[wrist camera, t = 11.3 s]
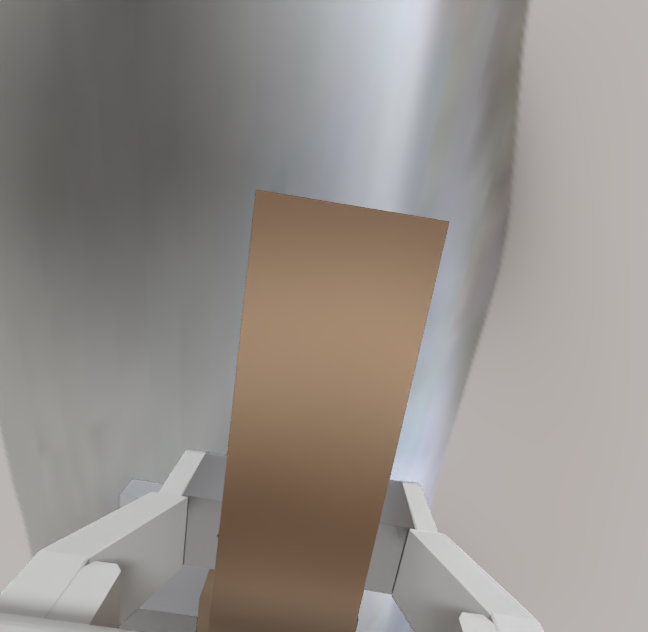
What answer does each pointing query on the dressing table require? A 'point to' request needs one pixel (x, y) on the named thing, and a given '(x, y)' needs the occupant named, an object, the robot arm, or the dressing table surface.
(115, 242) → the dressing table surface
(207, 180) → the dressing table surface
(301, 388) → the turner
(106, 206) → the dressing table surface
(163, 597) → the tile
